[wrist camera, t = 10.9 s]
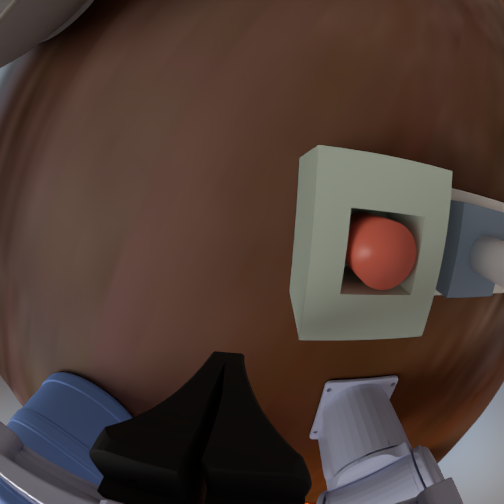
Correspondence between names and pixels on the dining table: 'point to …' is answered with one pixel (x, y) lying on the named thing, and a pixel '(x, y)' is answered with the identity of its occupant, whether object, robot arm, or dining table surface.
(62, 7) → the decorative bowl
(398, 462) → the robot arm
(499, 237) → the carriage
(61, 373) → the water jug
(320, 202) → the track
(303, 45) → the dining table surface
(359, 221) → the plunger
